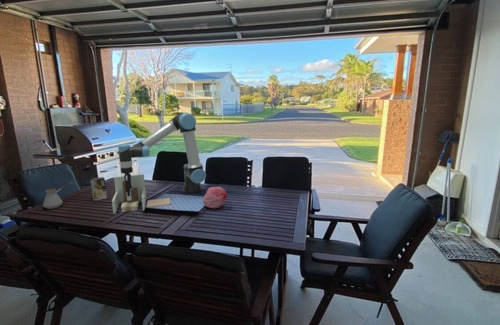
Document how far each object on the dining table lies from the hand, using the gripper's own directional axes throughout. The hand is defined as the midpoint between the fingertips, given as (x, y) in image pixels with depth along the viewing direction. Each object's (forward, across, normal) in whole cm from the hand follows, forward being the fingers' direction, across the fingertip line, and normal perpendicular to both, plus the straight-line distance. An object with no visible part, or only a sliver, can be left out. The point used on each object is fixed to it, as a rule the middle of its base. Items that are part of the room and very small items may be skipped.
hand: (129, 198), depth 191 cm
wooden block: (+6, 0, 0) cm, 6 cm away
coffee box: (+6, -27, -24) cm, 37 cm away
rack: (+6, 0, 0) cm, 6 cm away
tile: (+6, 0, +19) cm, 20 cm away
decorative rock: (+6, +23, +56) cm, 61 cm away
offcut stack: (+5, +6, 0) cm, 8 cm away
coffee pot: (+6, -22, -49) cm, 54 cm away
